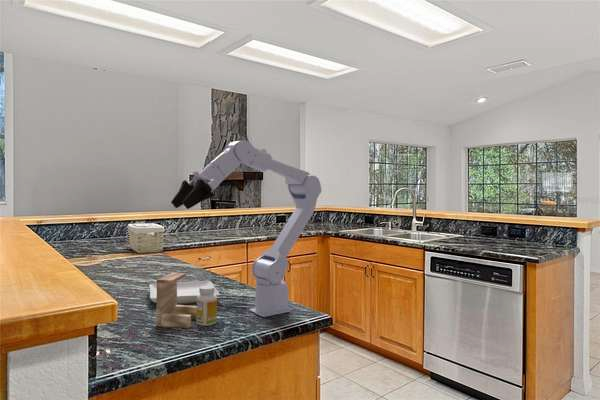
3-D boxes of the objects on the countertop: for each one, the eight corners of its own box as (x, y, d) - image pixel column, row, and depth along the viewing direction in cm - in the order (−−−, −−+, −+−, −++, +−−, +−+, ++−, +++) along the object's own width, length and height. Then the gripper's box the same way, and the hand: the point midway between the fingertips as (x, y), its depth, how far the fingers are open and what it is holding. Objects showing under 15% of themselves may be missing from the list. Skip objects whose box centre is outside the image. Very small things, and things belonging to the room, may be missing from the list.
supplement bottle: (218, 319, 113) (218, 285, 113) (214, 326, 108) (215, 289, 108) (198, 319, 113) (199, 284, 113) (194, 326, 108) (194, 289, 108)
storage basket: (165, 252, 232) (165, 226, 232) (134, 254, 223) (135, 227, 223) (155, 246, 252) (155, 223, 252) (126, 248, 243) (127, 223, 243)
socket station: (202, 316, 116) (202, 273, 115) (188, 327, 106) (189, 281, 106) (172, 314, 117) (172, 272, 117) (156, 325, 107) (156, 279, 107)
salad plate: (210, 288, 150) (210, 279, 150) (220, 304, 130) (220, 293, 130) (148, 292, 143) (148, 282, 143) (149, 309, 123) (149, 298, 123)
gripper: (196, 161, 114) (159, 193, 108) (219, 158, 102) (179, 193, 96) (211, 181, 117) (176, 213, 111) (236, 180, 105) (198, 215, 99)
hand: (179, 205), depth 104 cm, fingers open, 7 cm apart
